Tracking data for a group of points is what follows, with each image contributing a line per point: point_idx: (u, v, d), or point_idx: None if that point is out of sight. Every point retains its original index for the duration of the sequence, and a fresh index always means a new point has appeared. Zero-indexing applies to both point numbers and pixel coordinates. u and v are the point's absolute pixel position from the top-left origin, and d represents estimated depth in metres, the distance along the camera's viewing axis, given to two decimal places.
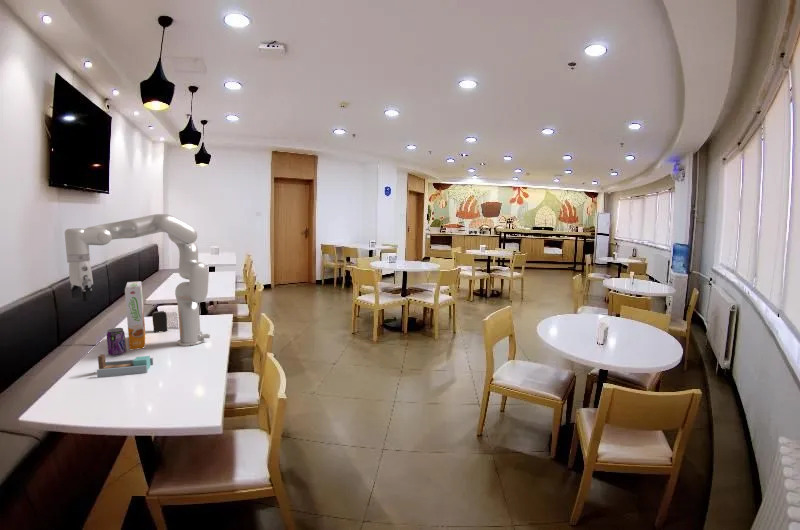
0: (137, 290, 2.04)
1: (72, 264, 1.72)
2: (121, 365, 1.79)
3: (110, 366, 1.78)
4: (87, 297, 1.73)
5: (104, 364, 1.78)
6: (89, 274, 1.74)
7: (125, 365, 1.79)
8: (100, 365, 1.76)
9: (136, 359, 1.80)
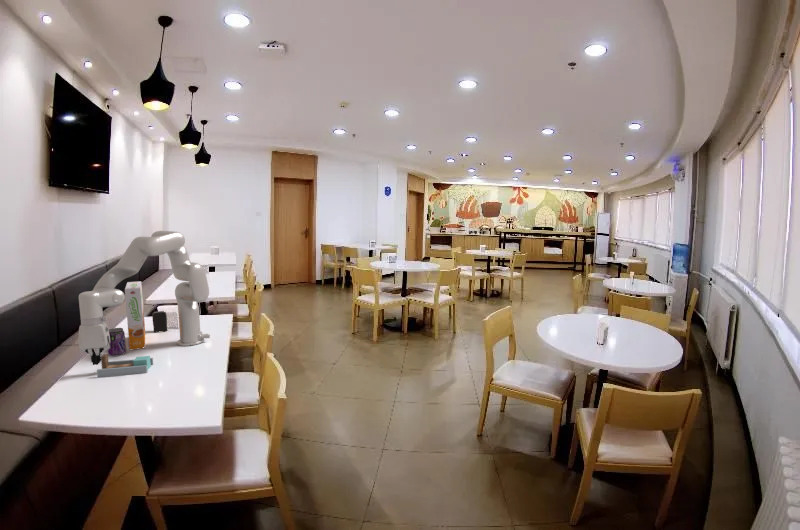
0: (137, 290, 2.04)
1: (92, 327, 1.72)
2: (124, 365, 1.80)
3: (113, 366, 1.78)
4: (99, 360, 1.76)
5: (107, 364, 1.78)
6: (108, 334, 1.78)
7: (128, 365, 1.80)
8: (103, 365, 1.76)
9: (136, 359, 1.80)
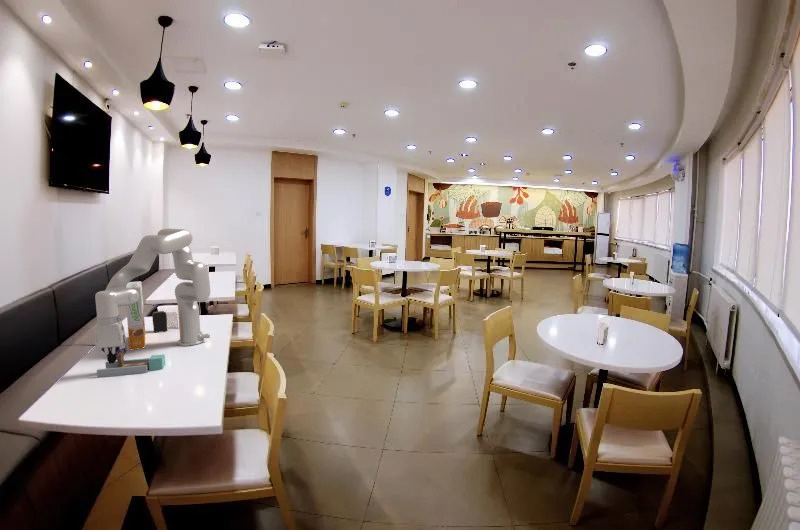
0: (137, 290, 2.04)
1: (108, 326, 1.74)
2: (139, 363, 1.81)
3: (129, 364, 1.80)
4: (115, 359, 1.78)
5: (123, 362, 1.79)
6: (124, 333, 1.79)
7: (143, 363, 1.81)
8: (119, 363, 1.78)
9: (151, 358, 1.81)
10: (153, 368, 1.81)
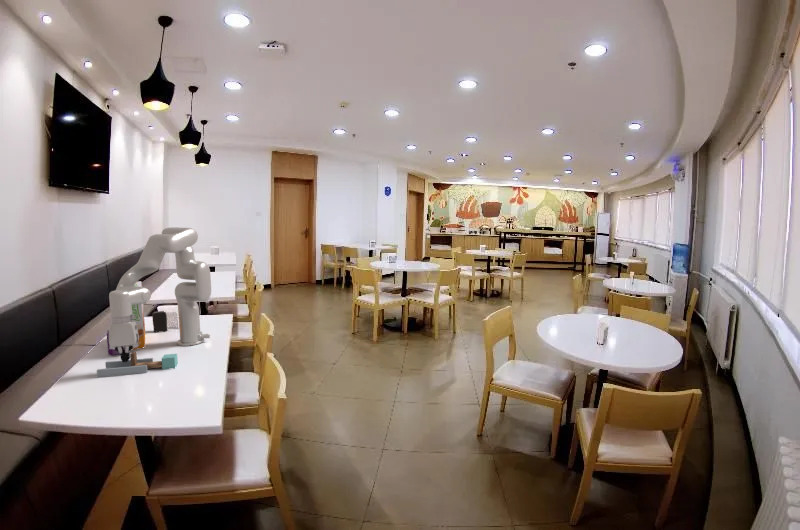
0: None
1: (122, 325, 1.75)
2: (152, 362, 1.82)
3: (142, 363, 1.81)
4: (129, 357, 1.79)
5: (136, 361, 1.81)
6: (137, 332, 1.81)
7: (156, 362, 1.83)
8: (132, 362, 1.79)
9: (164, 357, 1.82)
10: (166, 367, 1.82)
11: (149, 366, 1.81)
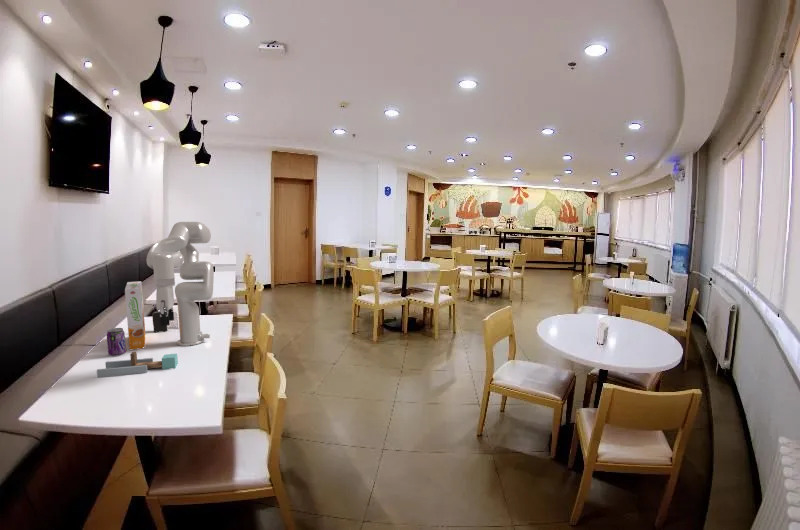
0: (137, 290, 2.04)
1: (172, 287, 1.81)
2: (152, 362, 1.83)
3: (142, 363, 1.81)
4: None
5: (136, 361, 1.81)
6: None
7: (156, 362, 1.83)
8: (132, 362, 1.79)
9: (164, 357, 1.82)
10: (166, 367, 1.82)
11: (149, 366, 1.81)
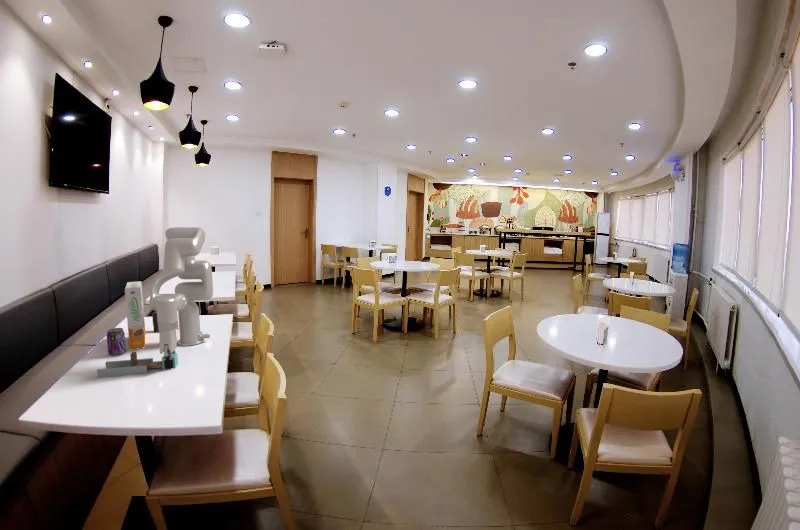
0: (137, 290, 2.04)
1: (174, 329, 1.84)
2: (152, 362, 1.83)
3: (142, 363, 1.81)
4: None
5: (136, 361, 1.81)
6: None
7: (156, 362, 1.83)
8: (132, 362, 1.79)
9: None
10: None
11: (149, 366, 1.81)
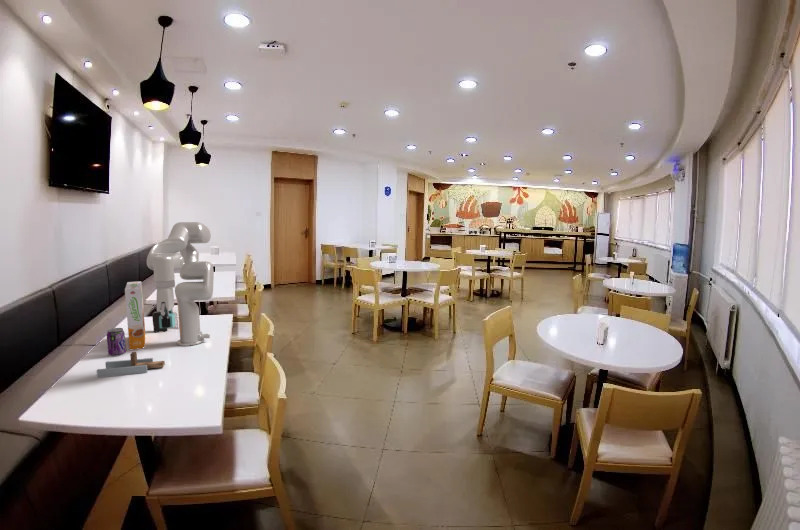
0: (137, 290, 2.04)
1: (172, 288, 1.81)
2: (152, 362, 1.83)
3: (142, 363, 1.81)
4: None
5: (136, 361, 1.81)
6: None
7: (156, 362, 1.83)
8: (132, 362, 1.79)
9: None
10: None
11: (149, 366, 1.81)
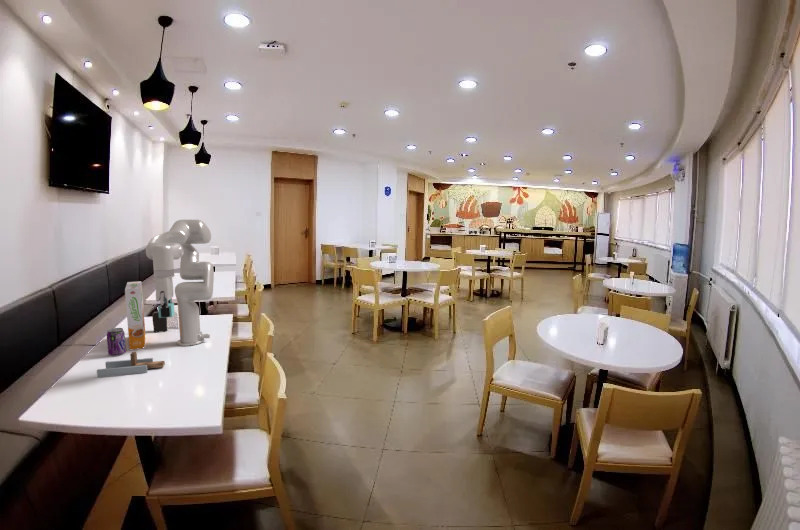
0: (137, 290, 2.04)
1: (171, 278, 1.81)
2: (152, 362, 1.83)
3: (142, 363, 1.81)
4: None
5: (136, 361, 1.81)
6: None
7: (156, 362, 1.83)
8: (132, 362, 1.79)
9: None
10: None
11: (149, 366, 1.81)
